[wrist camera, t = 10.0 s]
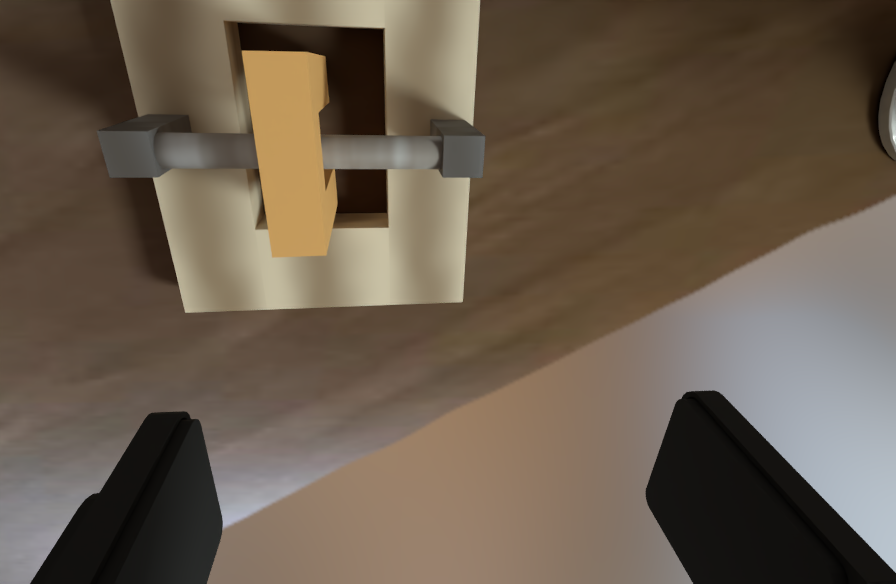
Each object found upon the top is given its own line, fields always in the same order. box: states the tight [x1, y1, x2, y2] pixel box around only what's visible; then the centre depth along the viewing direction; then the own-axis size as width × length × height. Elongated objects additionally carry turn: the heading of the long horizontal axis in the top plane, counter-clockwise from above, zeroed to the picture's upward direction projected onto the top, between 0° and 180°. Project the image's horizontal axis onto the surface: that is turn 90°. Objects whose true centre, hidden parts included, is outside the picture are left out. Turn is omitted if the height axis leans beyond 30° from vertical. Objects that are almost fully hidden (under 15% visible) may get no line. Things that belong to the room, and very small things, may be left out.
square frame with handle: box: [97, 0, 485, 313], centre depth 27 cm, size 18×20×8 cm
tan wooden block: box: [242, 51, 338, 258], centre depth 25 cm, size 2×8×9 cm, turn 179°
